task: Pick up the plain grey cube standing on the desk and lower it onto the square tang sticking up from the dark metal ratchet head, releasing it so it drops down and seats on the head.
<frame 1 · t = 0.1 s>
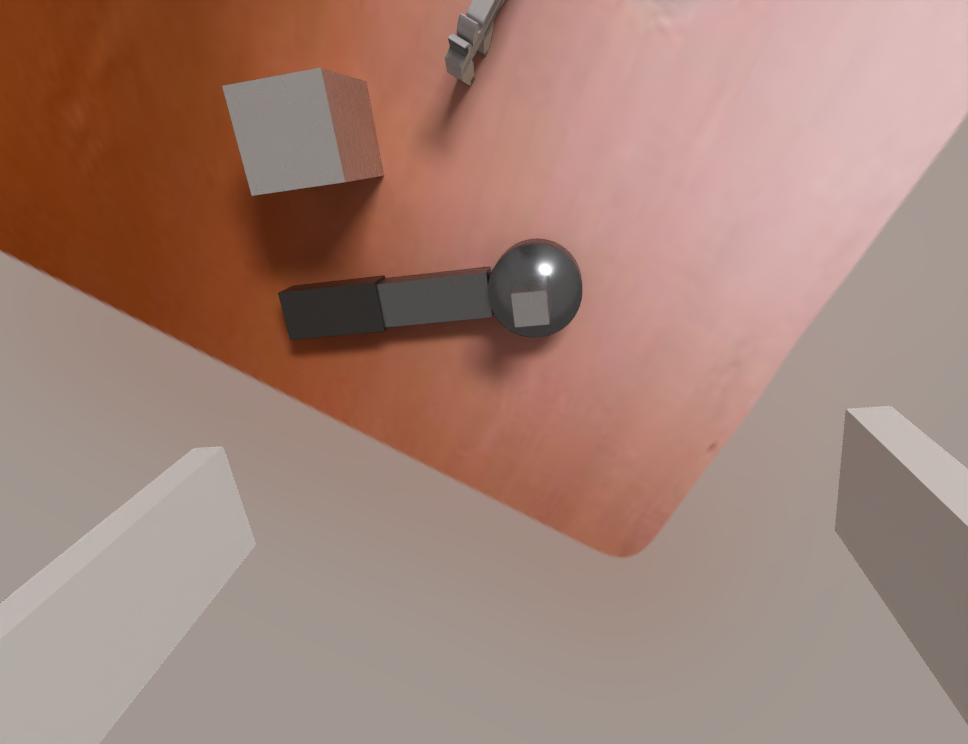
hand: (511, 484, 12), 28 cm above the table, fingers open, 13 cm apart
plain grey cube: (334, 136, 37), on the table
ratchet: (536, 283, 39), on the table
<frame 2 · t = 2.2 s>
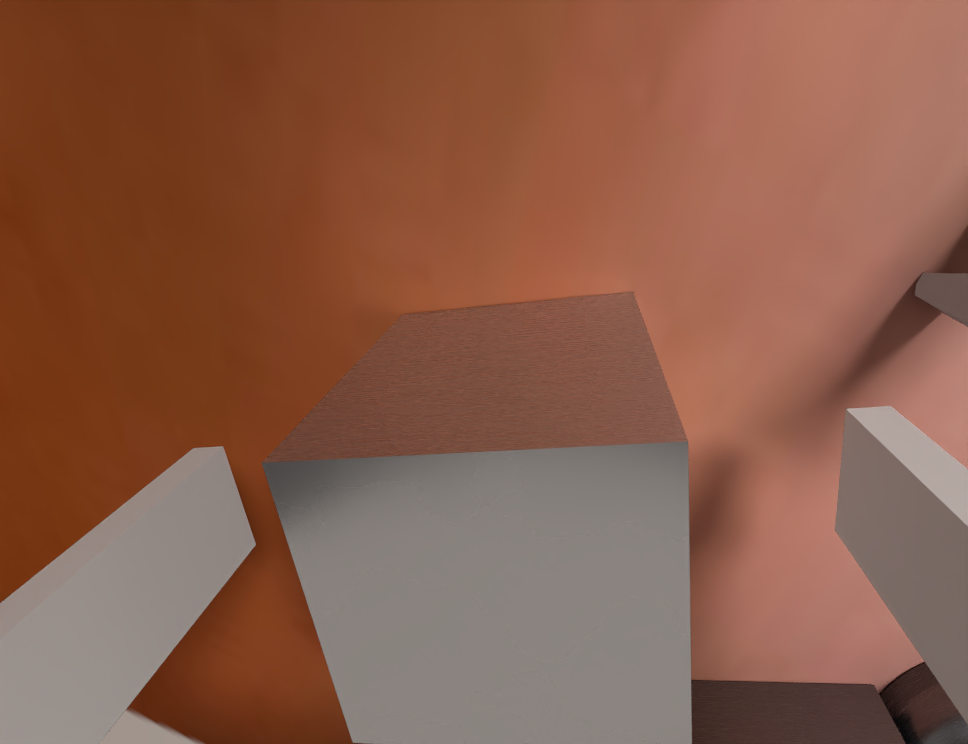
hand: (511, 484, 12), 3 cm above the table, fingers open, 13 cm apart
plain grey cube: (526, 408, 15), on the table
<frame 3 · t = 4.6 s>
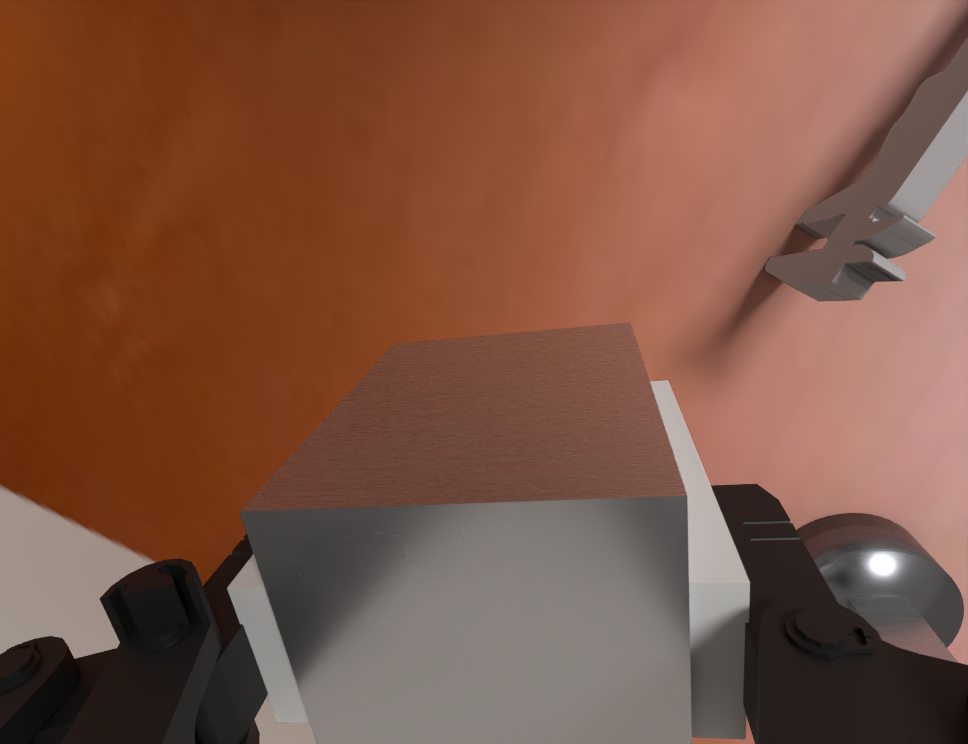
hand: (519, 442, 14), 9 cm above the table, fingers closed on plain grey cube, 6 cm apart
plain grey cube: (521, 439, 14), point 9 cm above the table, touching gripper
ratchet: (845, 574, 24), on the table
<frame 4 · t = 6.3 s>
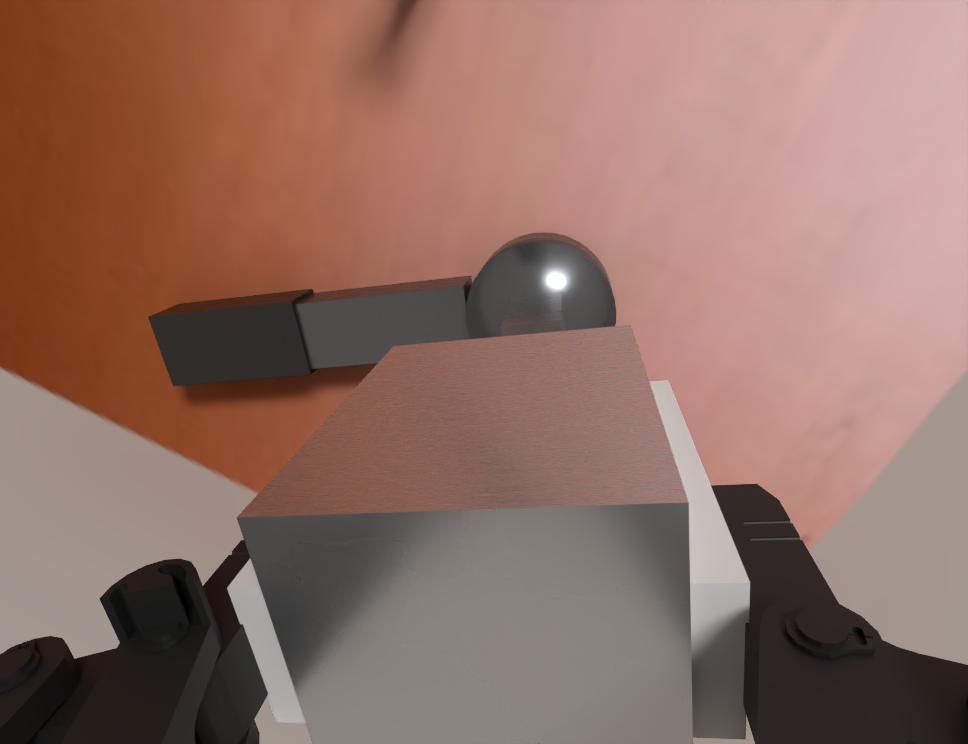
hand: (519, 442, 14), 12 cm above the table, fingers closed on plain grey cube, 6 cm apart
plain grey cube: (521, 442, 14), point 12 cm above the table, touching gripper
ratchet: (542, 301, 25), on the table
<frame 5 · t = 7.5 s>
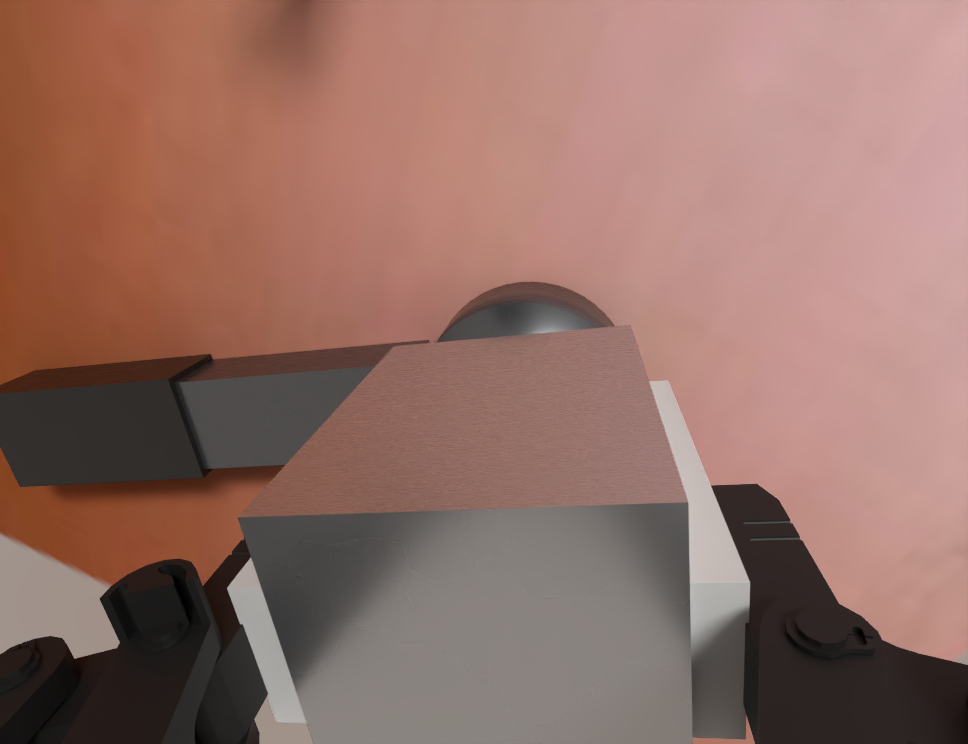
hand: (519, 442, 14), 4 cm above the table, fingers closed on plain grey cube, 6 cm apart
plain grey cube: (521, 442, 14), point 4 cm above the table, touching gripper
ratchet: (530, 377, 18), on the table
when the fingers open (4 cm above the table, at t = 8.5 s): plain grey cube drops 1 cm, resting on ratchet.
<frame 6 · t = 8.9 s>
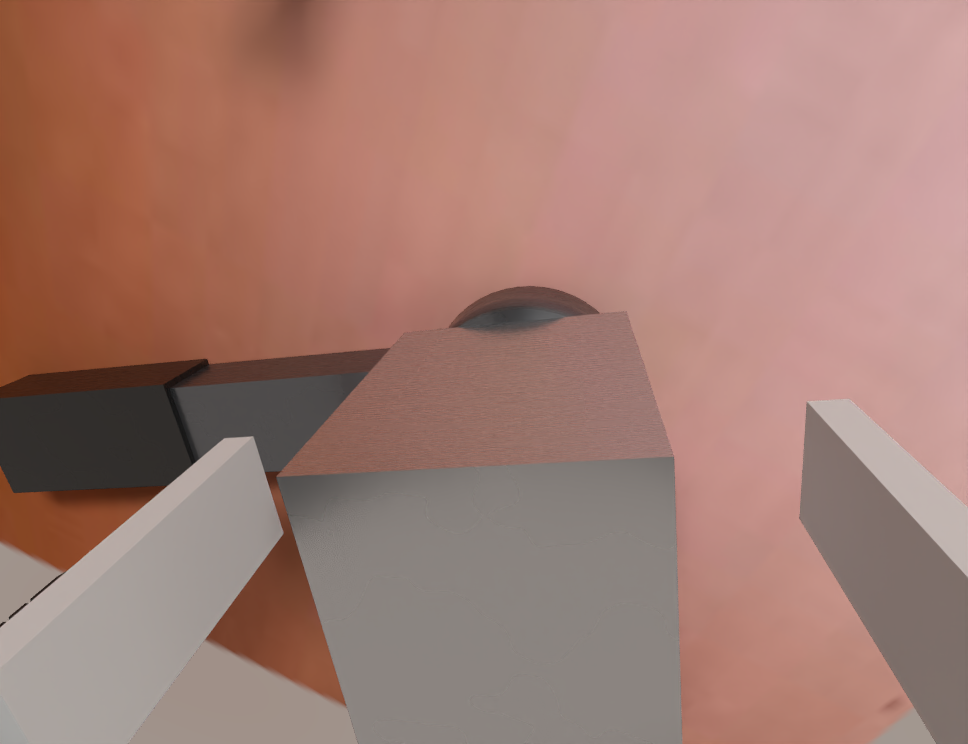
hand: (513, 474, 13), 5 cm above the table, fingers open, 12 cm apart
plain grey cube: (524, 422, 15), point 2 cm above the table, touching ratchet
ratchet: (529, 382, 18), on the table
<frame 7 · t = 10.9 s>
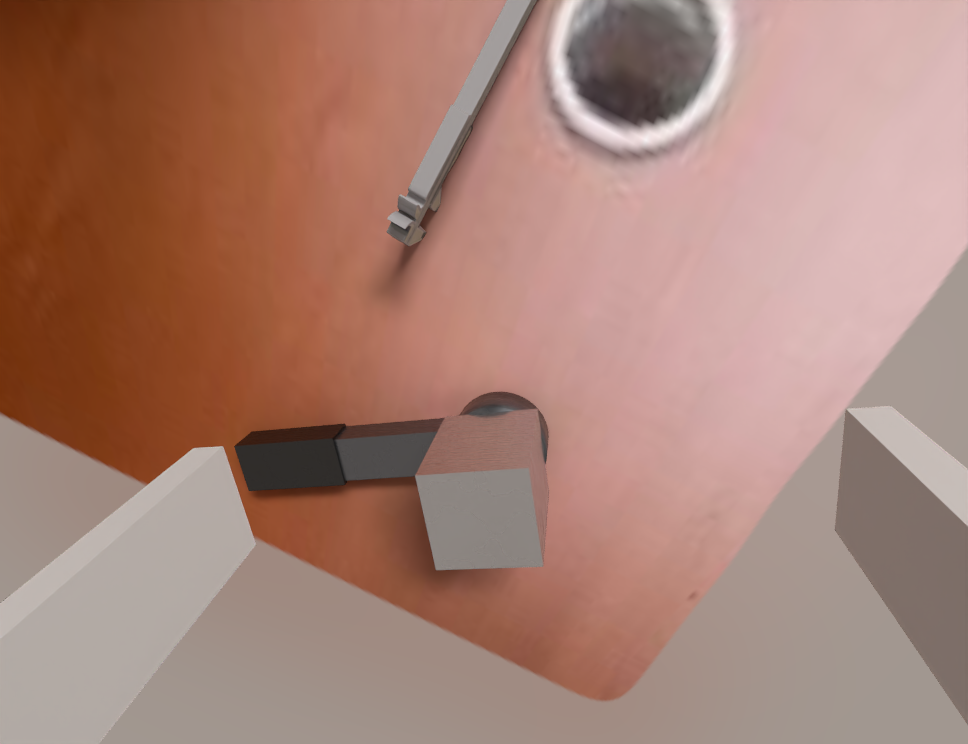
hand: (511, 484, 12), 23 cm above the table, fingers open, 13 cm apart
caliper: (500, 62, 30), on the table
plain grey cube: (497, 454, 35), point 2 cm above the table, touching ratchet
ratchet: (502, 434, 37), on the table
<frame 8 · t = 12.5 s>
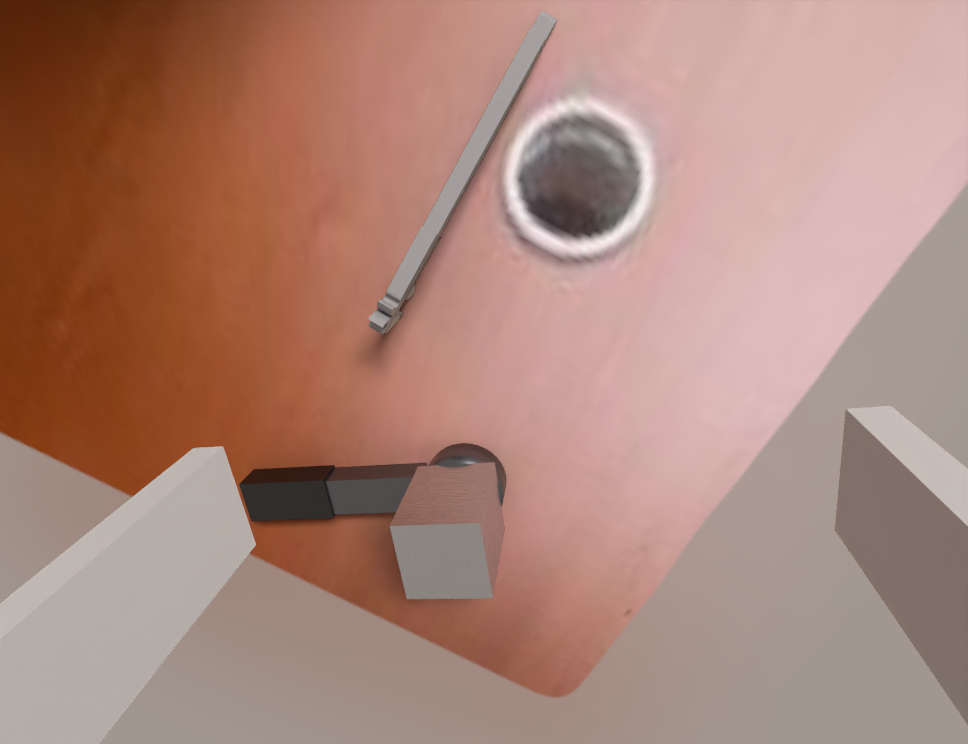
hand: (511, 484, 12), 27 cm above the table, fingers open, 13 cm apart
caliper: (464, 181, 36), on the table
plain grey cube: (461, 497, 42), point 2 cm above the table, touching ratchet
ratchet: (467, 478, 44), on the table
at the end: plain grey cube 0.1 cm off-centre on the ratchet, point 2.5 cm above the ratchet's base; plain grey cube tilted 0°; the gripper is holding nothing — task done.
